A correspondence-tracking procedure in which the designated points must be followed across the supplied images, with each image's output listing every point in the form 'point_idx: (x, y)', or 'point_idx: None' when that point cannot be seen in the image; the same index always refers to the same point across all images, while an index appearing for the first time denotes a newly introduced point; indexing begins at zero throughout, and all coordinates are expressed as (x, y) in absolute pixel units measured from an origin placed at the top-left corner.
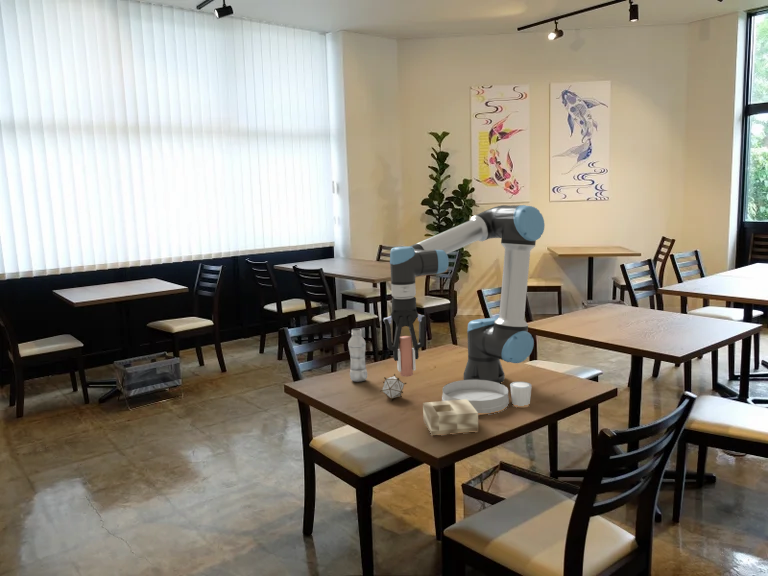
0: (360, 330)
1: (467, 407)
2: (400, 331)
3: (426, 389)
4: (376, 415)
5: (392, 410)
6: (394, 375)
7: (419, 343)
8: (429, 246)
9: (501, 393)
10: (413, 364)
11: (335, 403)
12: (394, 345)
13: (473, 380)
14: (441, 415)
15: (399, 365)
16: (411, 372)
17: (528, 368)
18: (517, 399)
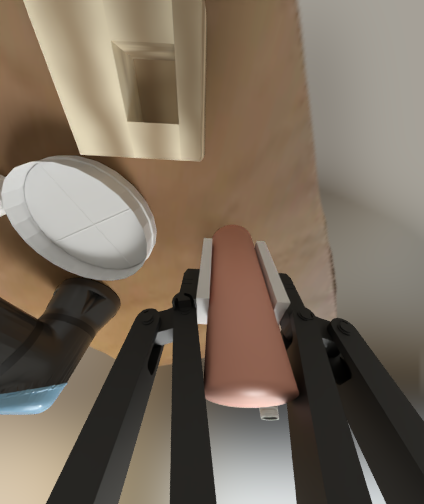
0: (264, 416)
1: (66, 65)
2: (330, 498)
3: (174, 288)
4: (282, 213)
5: (246, 228)
6: None
7: (160, 337)
8: None
9: (48, 238)
10: (210, 251)
11: (318, 276)
12: (317, 342)
13: (91, 277)
14: None
15: (266, 254)
16: (219, 233)
17: (36, 313)
18: None
